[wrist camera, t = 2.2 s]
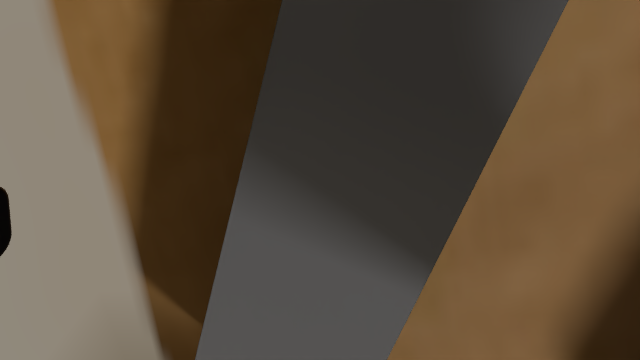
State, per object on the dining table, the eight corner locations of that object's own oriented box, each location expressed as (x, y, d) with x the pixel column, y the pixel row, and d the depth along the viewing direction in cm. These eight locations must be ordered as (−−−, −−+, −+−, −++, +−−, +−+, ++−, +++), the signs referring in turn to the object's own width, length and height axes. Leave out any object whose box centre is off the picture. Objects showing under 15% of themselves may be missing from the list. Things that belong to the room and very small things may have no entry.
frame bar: (343, 392, 16) (296, 538, 13) (240, 346, 16) (165, 477, 13) (634, -227, 8) (707, -275, 5) (430, -291, 9) (373, -377, 5)
